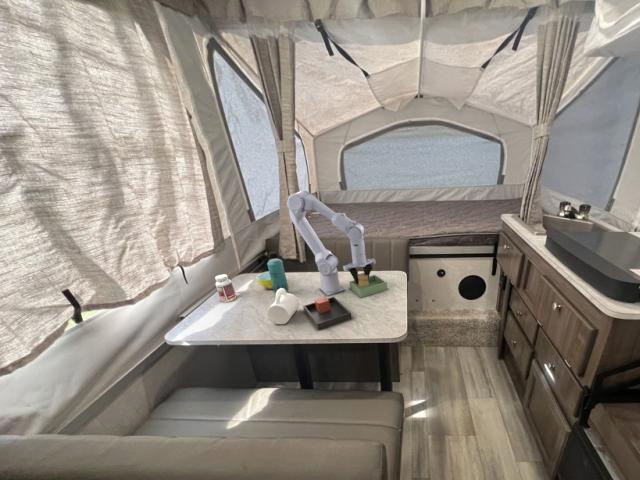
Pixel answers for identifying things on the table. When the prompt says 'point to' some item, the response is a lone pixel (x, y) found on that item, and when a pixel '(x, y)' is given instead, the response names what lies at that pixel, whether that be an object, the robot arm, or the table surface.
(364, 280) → the beech block
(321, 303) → the terracotta block
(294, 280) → the table surface
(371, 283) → the bin
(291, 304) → the mug
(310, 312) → the pan
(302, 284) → the table surface
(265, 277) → the bowl
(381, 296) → the table surface
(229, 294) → the pill bottle
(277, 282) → the beverage bottle
